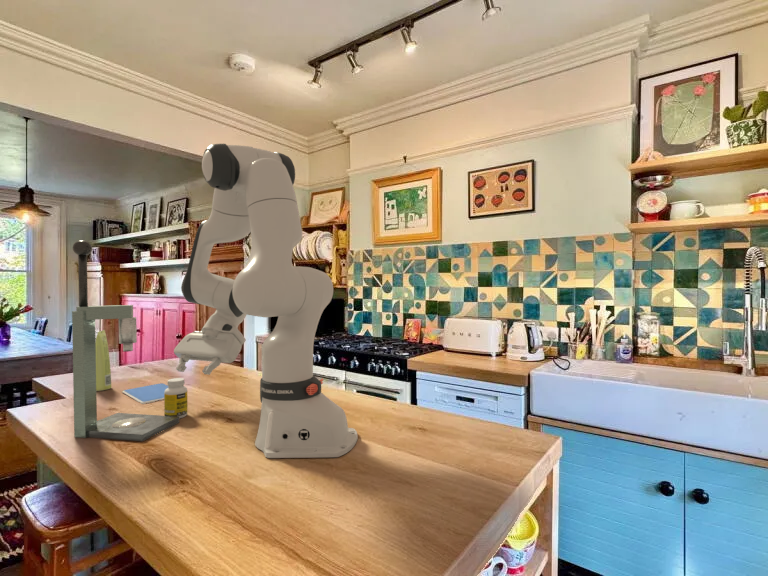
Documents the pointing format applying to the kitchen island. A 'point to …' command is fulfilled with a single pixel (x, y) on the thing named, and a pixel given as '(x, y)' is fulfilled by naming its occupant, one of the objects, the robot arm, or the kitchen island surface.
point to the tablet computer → (147, 393)
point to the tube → (102, 362)
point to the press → (85, 368)
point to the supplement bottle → (175, 398)
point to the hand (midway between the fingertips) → (192, 372)
